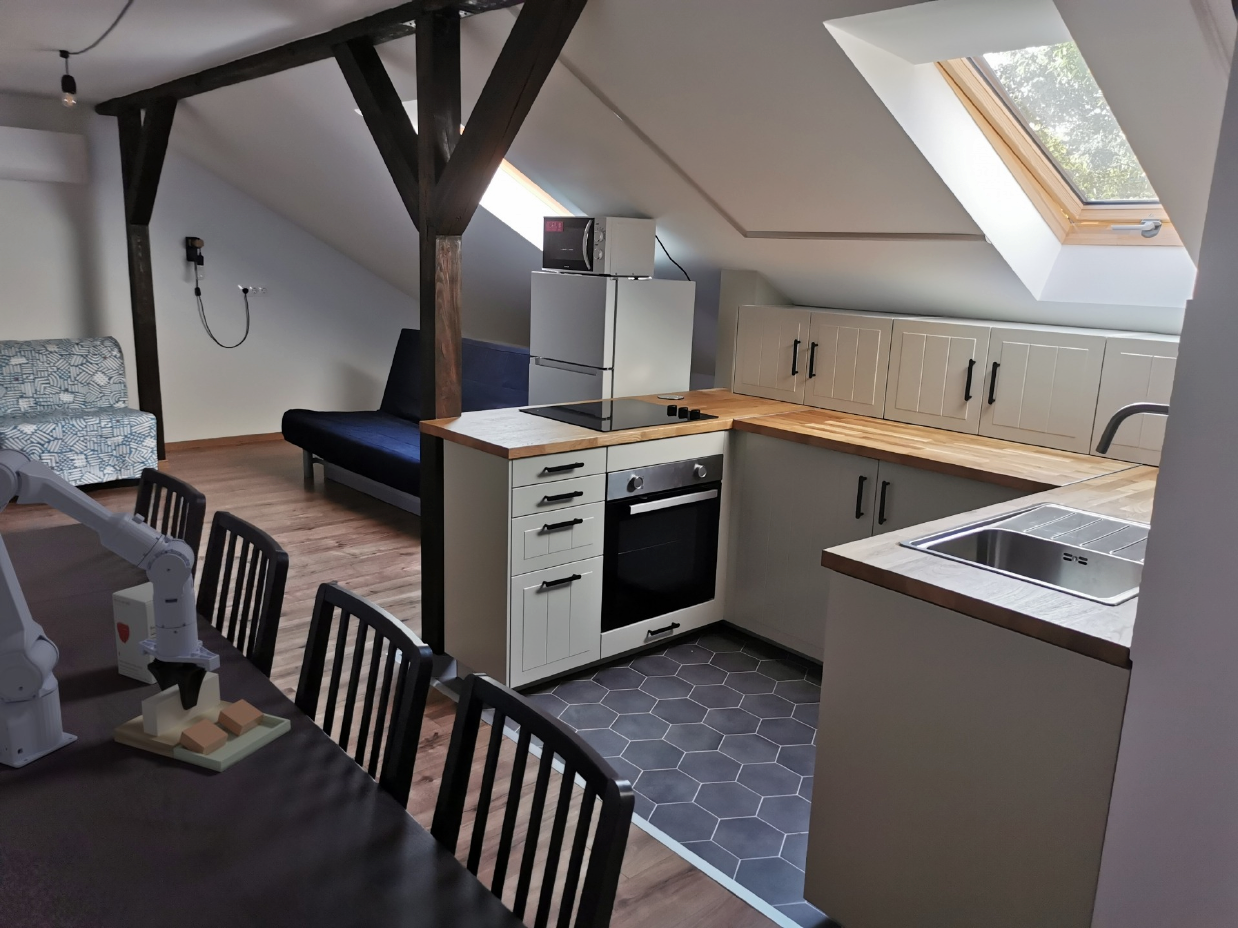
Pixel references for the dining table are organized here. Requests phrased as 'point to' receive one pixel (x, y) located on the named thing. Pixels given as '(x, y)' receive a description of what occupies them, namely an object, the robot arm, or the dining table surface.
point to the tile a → (203, 737)
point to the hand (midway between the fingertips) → (182, 705)
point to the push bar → (177, 706)
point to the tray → (236, 744)
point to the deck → (167, 741)
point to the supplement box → (134, 630)
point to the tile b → (240, 717)
